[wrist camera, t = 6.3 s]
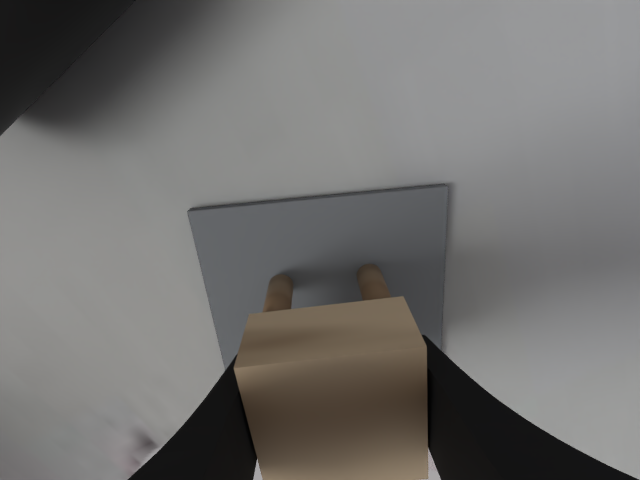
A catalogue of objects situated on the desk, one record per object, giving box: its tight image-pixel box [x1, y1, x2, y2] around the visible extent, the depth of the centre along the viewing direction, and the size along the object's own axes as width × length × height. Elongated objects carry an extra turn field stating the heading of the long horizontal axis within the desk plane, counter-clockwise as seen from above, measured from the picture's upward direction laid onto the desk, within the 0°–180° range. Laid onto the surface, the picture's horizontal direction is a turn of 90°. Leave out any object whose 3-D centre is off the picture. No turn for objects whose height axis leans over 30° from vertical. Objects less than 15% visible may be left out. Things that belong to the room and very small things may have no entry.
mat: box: [187, 184, 448, 370], centre depth 16 cm, size 10×10×1 cm
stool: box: [234, 264, 428, 480], centre depth 13 cm, size 5×5×6 cm
